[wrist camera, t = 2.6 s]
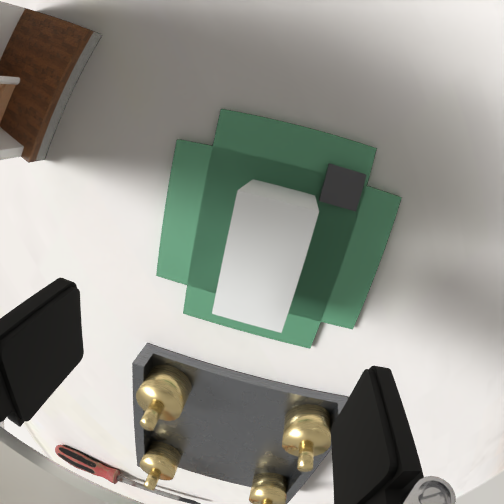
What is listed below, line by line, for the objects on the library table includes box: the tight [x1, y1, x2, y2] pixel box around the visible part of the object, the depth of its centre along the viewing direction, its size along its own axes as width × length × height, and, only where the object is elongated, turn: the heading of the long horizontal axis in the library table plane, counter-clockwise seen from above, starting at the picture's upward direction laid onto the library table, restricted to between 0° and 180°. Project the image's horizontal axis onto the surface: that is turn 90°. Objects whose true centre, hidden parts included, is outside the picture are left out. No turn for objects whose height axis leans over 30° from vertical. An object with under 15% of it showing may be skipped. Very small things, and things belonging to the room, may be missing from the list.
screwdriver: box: [55, 445, 200, 504], centre depth 35 cm, size 25×3×3 cm, turn 83°
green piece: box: [156, 109, 401, 348], centre depth 19 cm, size 15×15×6 cm
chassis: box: [133, 343, 348, 504], centre depth 26 cm, size 18×18×6 cm
